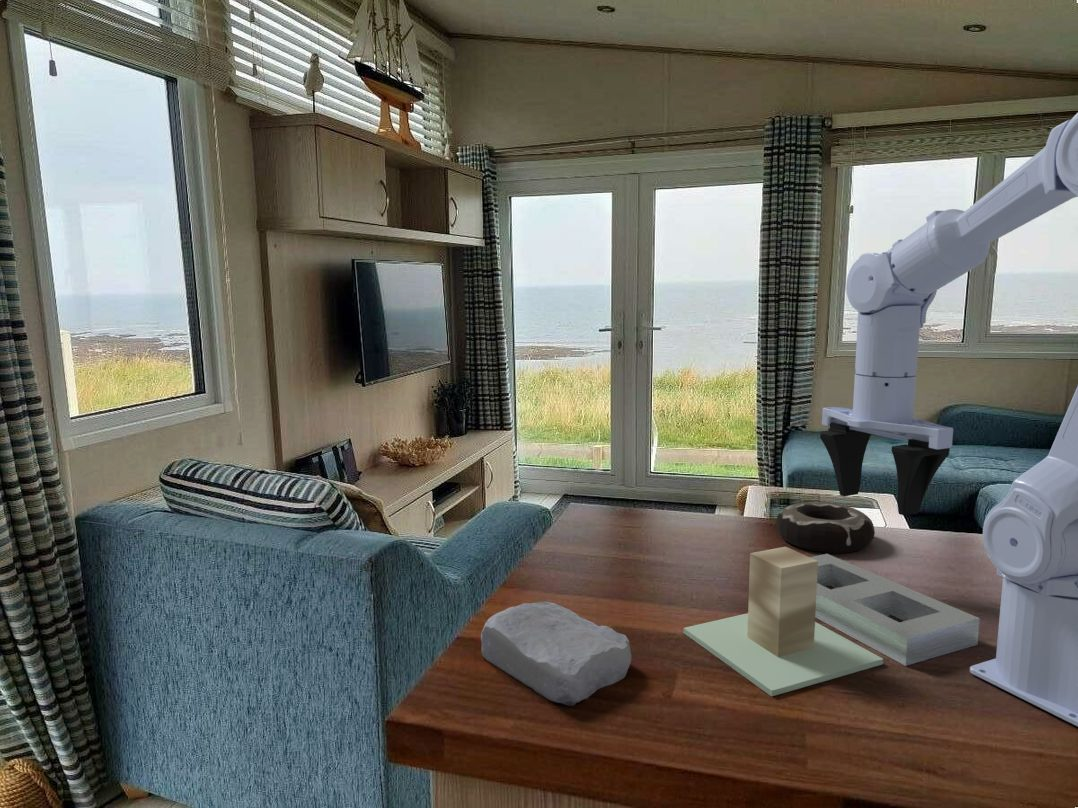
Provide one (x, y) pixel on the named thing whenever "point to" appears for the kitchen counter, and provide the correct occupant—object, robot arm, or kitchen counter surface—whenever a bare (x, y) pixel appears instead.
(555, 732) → the kitchen counter surface
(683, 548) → the kitchen counter surface
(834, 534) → the donut
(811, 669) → the mat
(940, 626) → the rail
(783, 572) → the peg
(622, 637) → the stone block
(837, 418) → the robot arm
